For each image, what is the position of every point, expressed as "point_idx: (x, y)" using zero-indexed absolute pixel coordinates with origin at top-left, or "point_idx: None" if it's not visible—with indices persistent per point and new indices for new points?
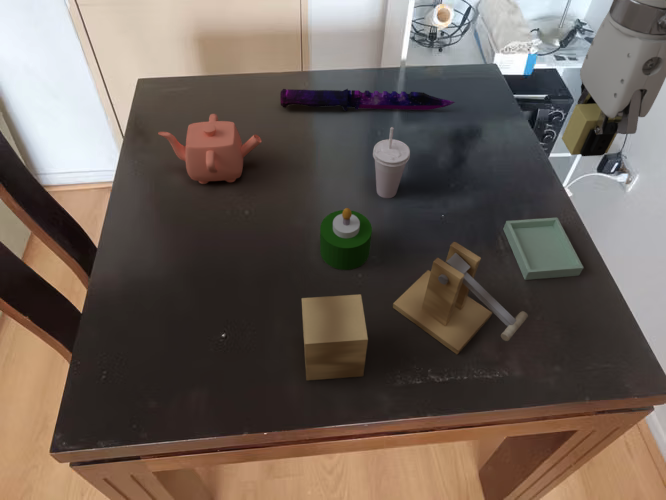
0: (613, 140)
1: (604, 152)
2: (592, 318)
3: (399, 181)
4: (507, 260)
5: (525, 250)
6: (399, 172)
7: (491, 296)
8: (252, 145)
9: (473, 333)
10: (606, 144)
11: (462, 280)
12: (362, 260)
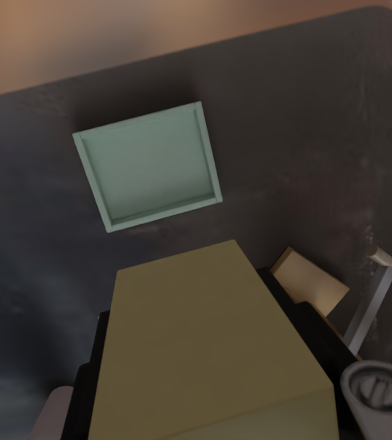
0: (255, 272)
1: (270, 273)
2: (283, 93)
3: (65, 410)
4: (180, 220)
5: (159, 194)
6: None
7: (366, 311)
8: None
9: (326, 273)
10: (332, 334)
11: None
12: None
